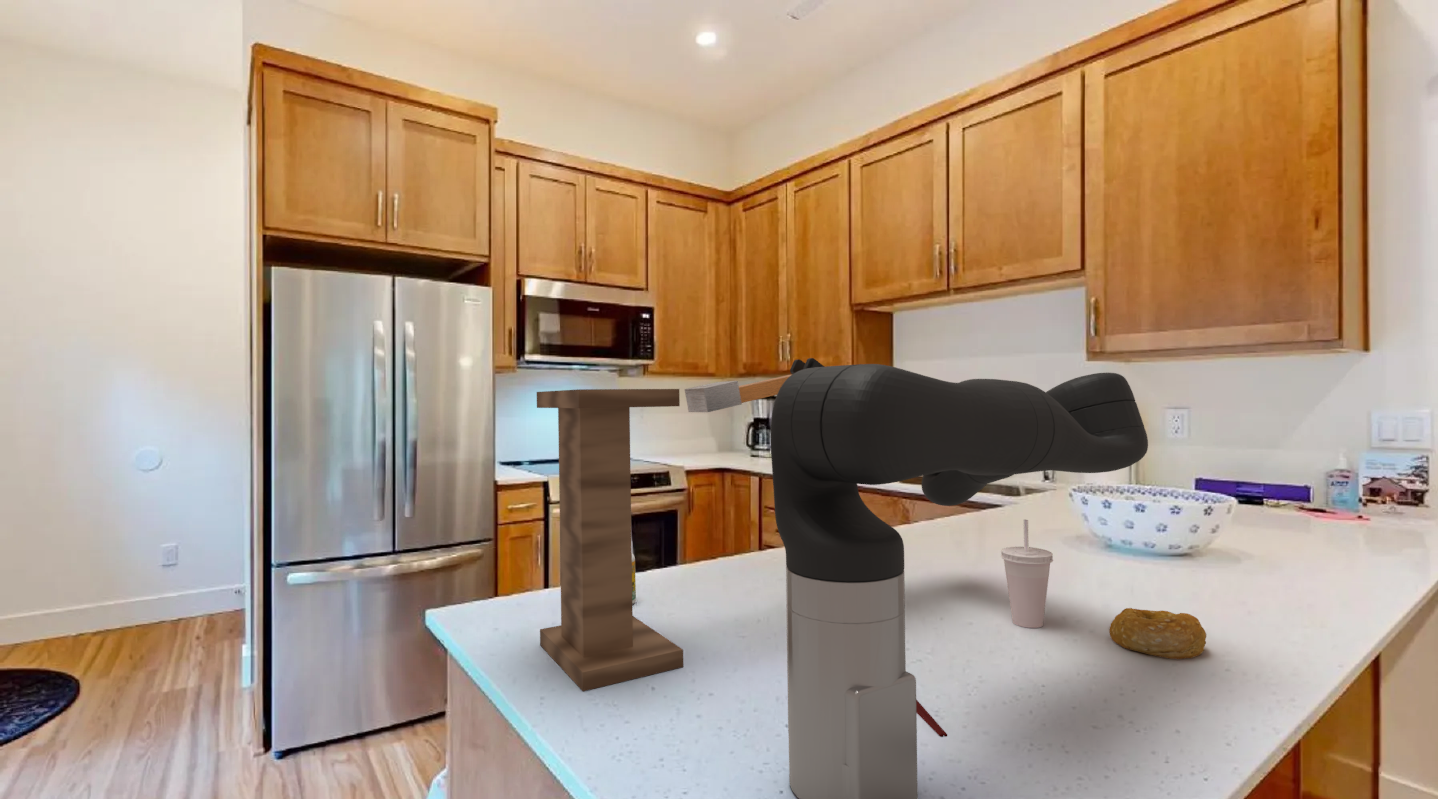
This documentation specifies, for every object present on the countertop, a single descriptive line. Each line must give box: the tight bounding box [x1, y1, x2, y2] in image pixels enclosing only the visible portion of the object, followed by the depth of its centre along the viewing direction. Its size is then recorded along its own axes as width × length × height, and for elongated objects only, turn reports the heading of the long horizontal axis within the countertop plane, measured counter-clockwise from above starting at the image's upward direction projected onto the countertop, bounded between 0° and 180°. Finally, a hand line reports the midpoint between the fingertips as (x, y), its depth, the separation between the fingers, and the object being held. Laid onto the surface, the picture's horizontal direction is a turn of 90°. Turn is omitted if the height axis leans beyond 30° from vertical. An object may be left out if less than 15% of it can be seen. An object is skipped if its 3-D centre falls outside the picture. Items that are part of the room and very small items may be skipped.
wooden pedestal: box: [536, 388, 684, 692], centre depth 81 cm, size 16×12×32 cm
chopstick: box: [916, 698, 948, 738], centre depth 73 cm, size 2×24×1 cm, turn 8°
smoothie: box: [1000, 519, 1054, 629], centre depth 91 cm, size 6×6×14 cm
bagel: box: [1109, 607, 1207, 660], centre depth 82 cm, size 10×11×5 cm
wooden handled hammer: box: [684, 373, 793, 413], centre depth 90 cm, size 5×22×3 cm, turn 121°
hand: (800, 364), depth 93 cm, fingers closed on wooden handled hammer, 2 cm apart
